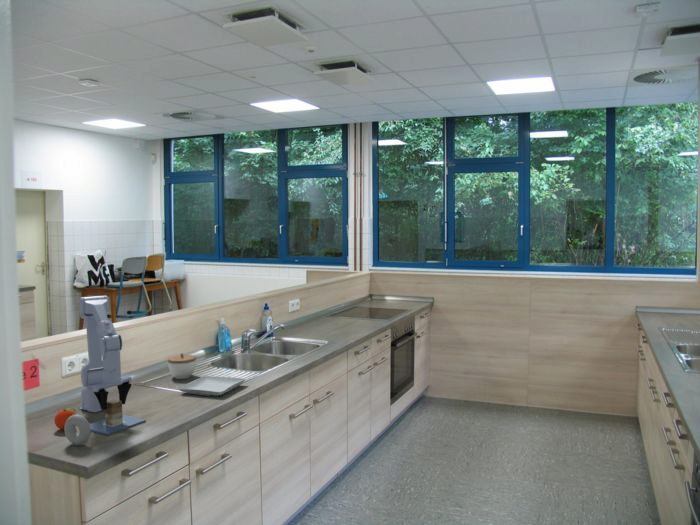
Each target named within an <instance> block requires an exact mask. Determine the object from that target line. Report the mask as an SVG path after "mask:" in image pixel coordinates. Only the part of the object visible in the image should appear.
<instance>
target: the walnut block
mask: <svg viewBox="0 0 700 525" xmlns="http://www.w3.org/2000/svg"><path fill="white" fill-rule="evenodd" d="M104 412H105V413H107V414H111V415H114V414H117V413H120V412H122V413H123V404H122V401H121V400H119V399H115V398H114V399H111V400H107V410H104Z"/></svg>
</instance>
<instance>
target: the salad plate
mask: <svg viewBox="0 0 700 525" xmlns="http://www.w3.org/2000/svg"><path fill="white" fill-rule="evenodd" d="M245 381H246V378H245V377H244V378H242V377H232V376H231V377H229V376H213V375H212V376H211V375H204V376H202V377H200V378H196V379H195V380H192V381H191V382H188V383H186V384H184V385H182V386H179V387H178V388H177V389H178V390H179V391H180V392H182V393H185V394H191V395H199V394H201V395H200V396H210V395H213V397H219V395H220V396H222V394H223V395H225V394H227V393H229V392H230V391H232V390H234V389H235V388H238V386H241V385H242V384H243V383H244V382H245ZM233 388H234V389H233ZM226 392H227V393H226ZM224 393H225V394H224Z"/></svg>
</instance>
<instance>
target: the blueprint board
mask: <svg viewBox="0 0 700 525" xmlns="http://www.w3.org/2000/svg"><path fill="white" fill-rule="evenodd" d="M122 415H123V423H120V424H117V425H115V426H111V425H107V424H106V418H103V419H101V420H98V421H95V422H92V423H89V424H90V428H91V433H97V434H100V435H103V436H106V437H107V436H109V435H112V434H116V433H118V432H122V431H124V430H127V429H129V428H132V427H134V426H135V427H136V426H137V425H141V424H143V423H146V422H147V419H142V418H139V417H134V416H130V415H127V414H123V413H122Z"/></svg>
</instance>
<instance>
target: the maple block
mask: <svg viewBox="0 0 700 525" xmlns="http://www.w3.org/2000/svg"><path fill="white" fill-rule="evenodd" d="M122 414H123V411H122V412H120V413H117V414H114V415H111V414H107V413H105V414H104V415H105V419H106V424H107V425H111V426H115V425H117V424H120V423H123V415H124V414H123V415H122Z"/></svg>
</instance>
